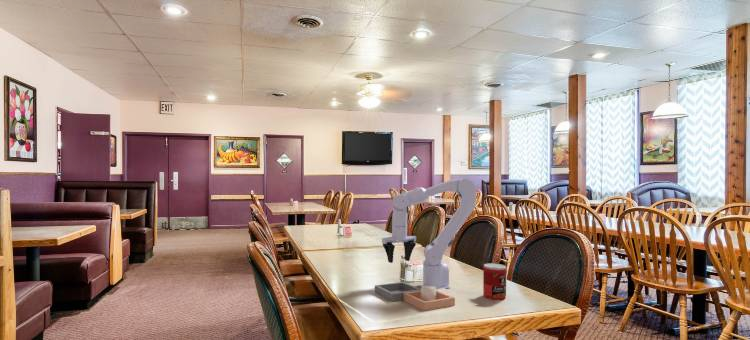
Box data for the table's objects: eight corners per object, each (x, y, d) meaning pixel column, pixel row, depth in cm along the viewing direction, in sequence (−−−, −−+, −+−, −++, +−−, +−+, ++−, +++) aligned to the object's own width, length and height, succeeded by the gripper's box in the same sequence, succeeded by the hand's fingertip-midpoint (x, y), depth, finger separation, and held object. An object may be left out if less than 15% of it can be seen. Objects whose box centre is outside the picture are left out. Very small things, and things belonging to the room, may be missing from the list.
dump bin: (432, 297, 147) (432, 288, 147) (454, 307, 137) (454, 297, 137) (403, 302, 141) (403, 293, 141) (424, 312, 131) (424, 302, 131)
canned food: (494, 301, 143) (494, 269, 143) (478, 295, 150) (478, 264, 150) (511, 298, 147) (511, 266, 147) (494, 292, 154) (494, 262, 154)
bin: (403, 289, 156) (403, 281, 156) (422, 298, 146) (422, 289, 146) (374, 294, 150) (374, 285, 150) (392, 303, 140) (392, 294, 140)
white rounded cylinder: (426, 299, 143) (427, 284, 143) (438, 302, 139) (439, 287, 139) (417, 301, 139) (418, 286, 139) (429, 305, 136) (430, 289, 136)
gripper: (409, 223, 168) (408, 257, 168) (377, 225, 161) (377, 261, 161) (419, 225, 162) (419, 261, 162) (387, 227, 155) (387, 264, 155)
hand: (398, 261), depth 161 cm, fingers open, 7 cm apart
